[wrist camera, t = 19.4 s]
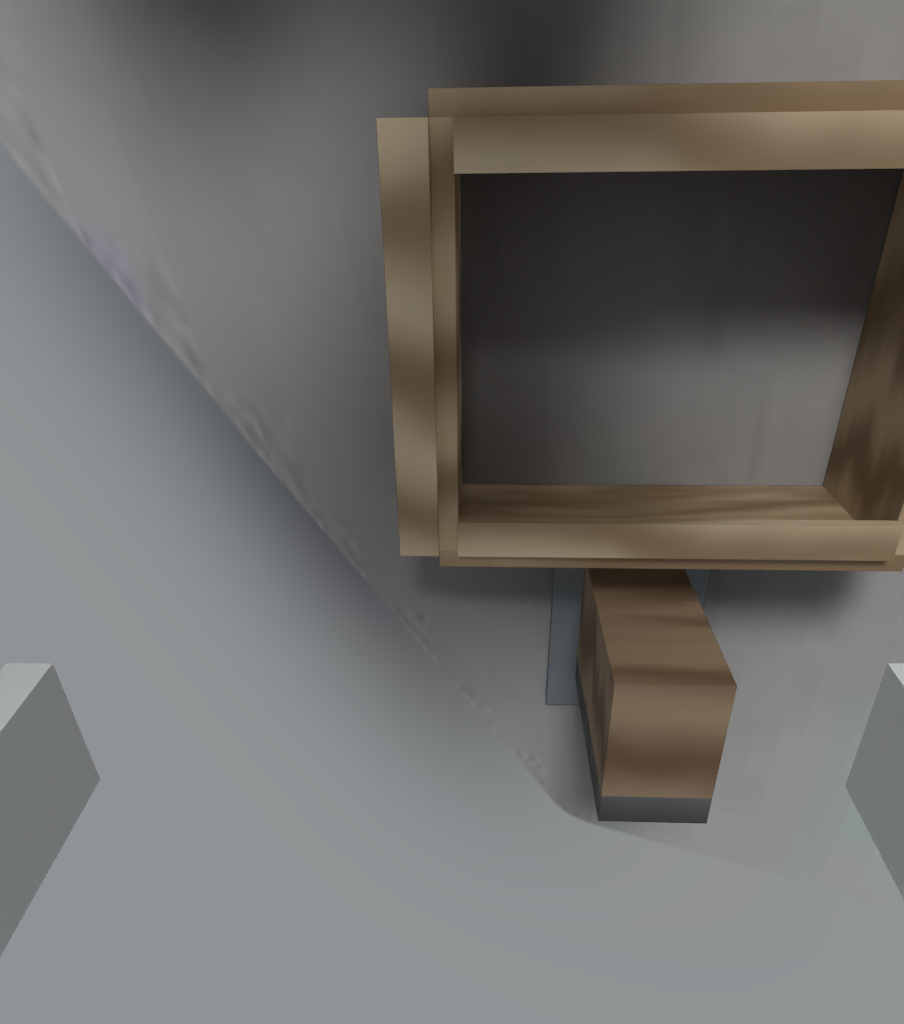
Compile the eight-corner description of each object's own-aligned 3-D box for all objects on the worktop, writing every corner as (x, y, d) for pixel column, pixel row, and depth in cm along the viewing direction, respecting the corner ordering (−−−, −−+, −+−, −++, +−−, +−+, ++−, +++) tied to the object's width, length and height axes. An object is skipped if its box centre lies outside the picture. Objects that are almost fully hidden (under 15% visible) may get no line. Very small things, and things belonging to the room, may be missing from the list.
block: (585, 557, 47) (614, 684, 36) (679, 558, 46) (737, 686, 36) (575, 677, 51) (598, 820, 41) (660, 678, 51) (706, 823, 41)
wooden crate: (398, 96, 35) (374, 88, 28) (989, 86, 34) (1133, 75, 27) (415, 497, 46) (401, 572, 38) (869, 501, 45) (947, 578, 37)
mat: (557, 519, 46) (557, 523, 46) (716, 521, 46) (718, 525, 45) (545, 699, 53) (546, 703, 53) (683, 701, 53) (685, 706, 52)
